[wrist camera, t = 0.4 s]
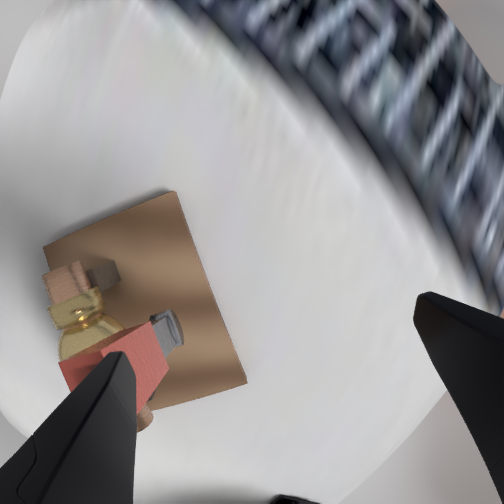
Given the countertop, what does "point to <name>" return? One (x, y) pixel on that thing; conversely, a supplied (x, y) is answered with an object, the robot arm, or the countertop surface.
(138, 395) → the valve lever
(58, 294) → the valve body
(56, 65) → the countertop surface
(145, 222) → the mounting board
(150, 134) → the countertop surface
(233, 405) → the countertop surface
